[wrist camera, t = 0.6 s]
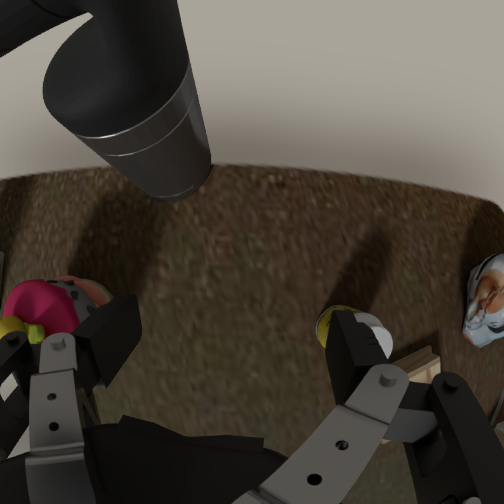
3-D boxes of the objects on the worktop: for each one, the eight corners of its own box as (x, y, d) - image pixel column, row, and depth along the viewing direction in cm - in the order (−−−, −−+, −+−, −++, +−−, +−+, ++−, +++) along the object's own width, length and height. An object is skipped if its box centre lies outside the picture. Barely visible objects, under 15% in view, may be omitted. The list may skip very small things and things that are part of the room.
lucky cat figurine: (464, 361, 32) (499, 371, 19) (433, 295, 37) (459, 280, 24) (527, 308, 28) (571, 297, 16) (497, 247, 33) (534, 216, 21)
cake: (52, 342, 29) (-24, 372, 14) (62, 265, 30) (-24, 263, 15) (118, 371, 30) (54, 428, 15) (132, 289, 30) (57, 306, 15)
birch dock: (364, 375, 31) (374, 383, 28) (428, 344, 32) (441, 349, 29) (372, 439, 31) (380, 449, 28) (431, 408, 31) (441, 416, 28)
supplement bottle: (352, 297, 31) (394, 308, 22) (362, 339, 31) (404, 363, 21) (309, 313, 31) (338, 332, 21) (320, 356, 31) (351, 388, 21)
